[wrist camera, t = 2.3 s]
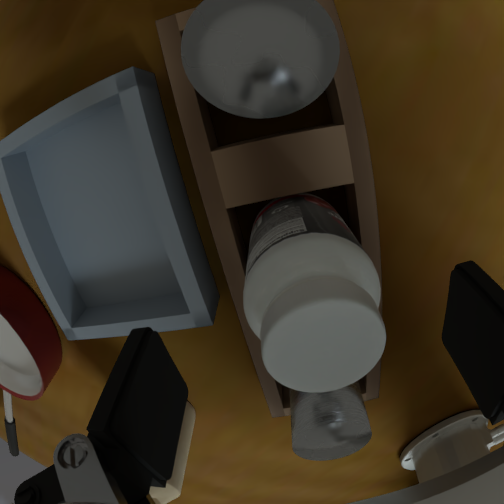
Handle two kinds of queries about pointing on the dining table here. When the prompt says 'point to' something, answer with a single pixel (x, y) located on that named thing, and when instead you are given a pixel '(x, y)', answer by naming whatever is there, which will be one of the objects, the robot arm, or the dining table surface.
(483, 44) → the dining table surface
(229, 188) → the socket rack
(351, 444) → the peg
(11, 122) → the dining table surface
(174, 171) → the tray
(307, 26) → the peg
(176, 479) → the candle
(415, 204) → the dining table surface
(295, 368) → the pill bottle
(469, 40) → the dining table surface
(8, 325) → the frying pan
